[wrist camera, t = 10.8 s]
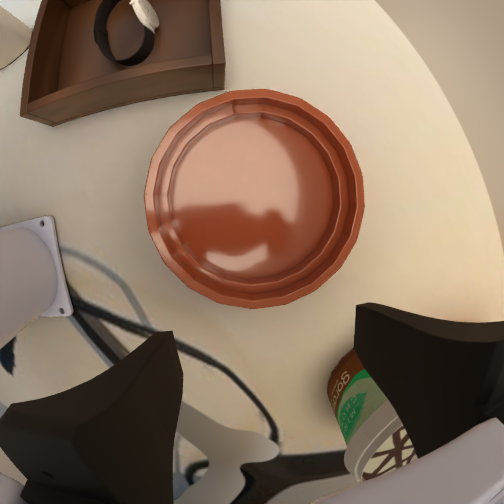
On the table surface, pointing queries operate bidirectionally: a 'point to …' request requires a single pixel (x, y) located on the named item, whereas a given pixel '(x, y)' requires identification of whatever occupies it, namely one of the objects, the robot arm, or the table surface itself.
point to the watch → (145, 17)
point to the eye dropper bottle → (12, 37)
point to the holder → (118, 57)
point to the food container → (367, 422)
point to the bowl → (254, 198)
